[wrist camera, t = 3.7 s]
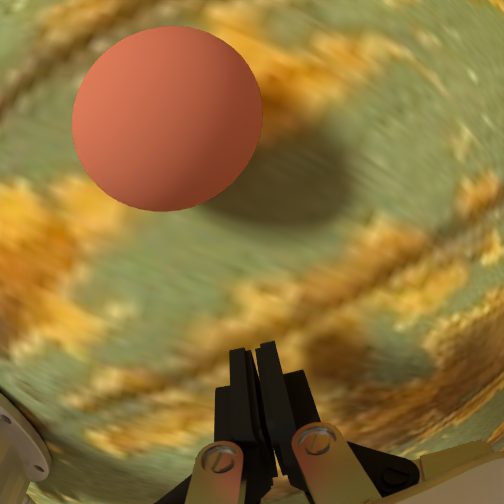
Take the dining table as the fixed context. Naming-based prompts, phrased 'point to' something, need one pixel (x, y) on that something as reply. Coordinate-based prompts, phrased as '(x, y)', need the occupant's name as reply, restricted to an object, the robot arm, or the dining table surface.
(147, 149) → the ball
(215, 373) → the dining table surface
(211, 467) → the robot arm
